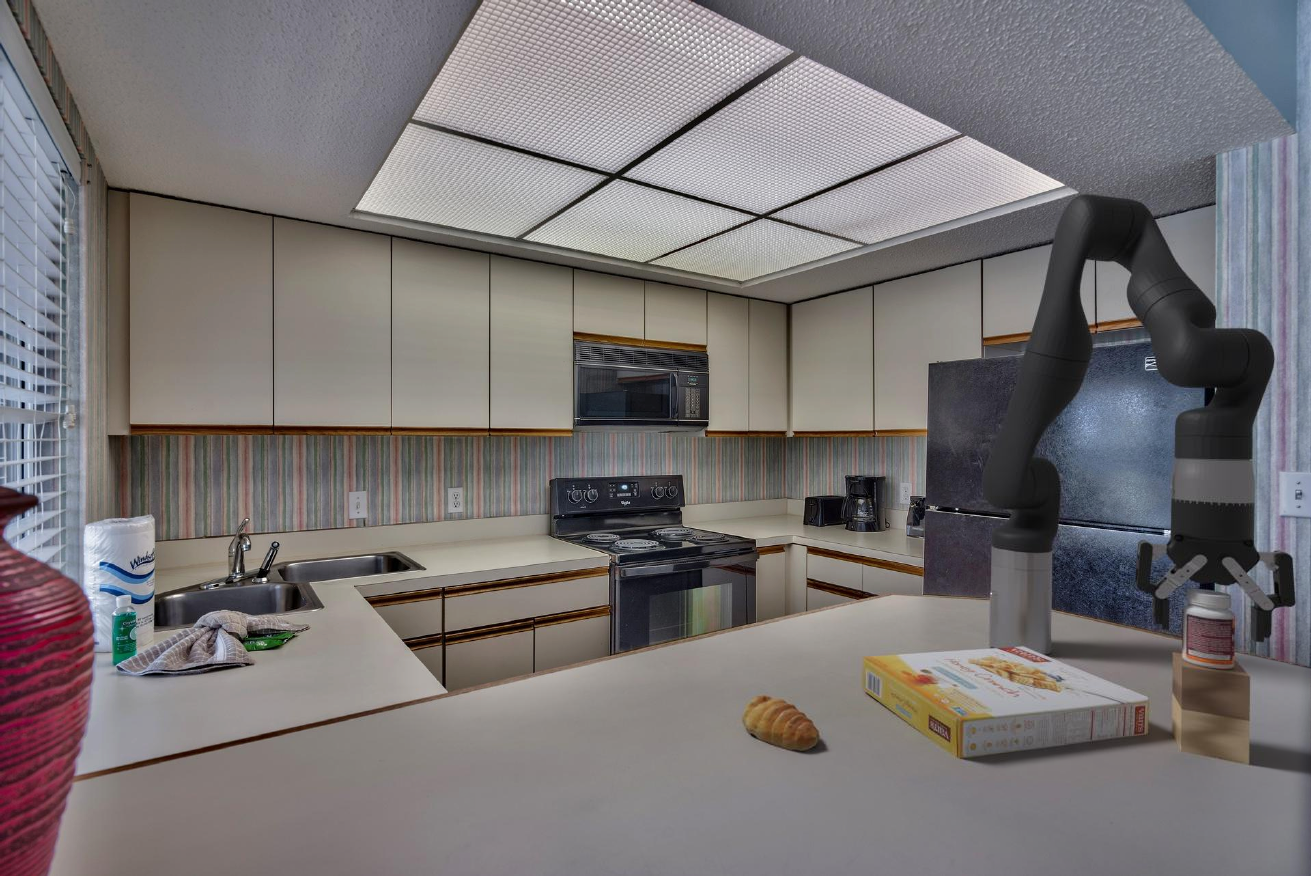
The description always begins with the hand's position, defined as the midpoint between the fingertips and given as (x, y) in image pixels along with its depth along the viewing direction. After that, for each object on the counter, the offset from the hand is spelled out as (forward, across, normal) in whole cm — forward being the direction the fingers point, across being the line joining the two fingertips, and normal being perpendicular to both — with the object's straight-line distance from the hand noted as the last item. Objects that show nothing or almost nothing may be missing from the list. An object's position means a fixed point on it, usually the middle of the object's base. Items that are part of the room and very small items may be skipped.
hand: (1209, 634), depth 77 cm
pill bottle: (+4, 0, 0) cm, 4 cm away
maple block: (+14, 0, 0) cm, 14 cm away
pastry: (+14, -44, -23) cm, 52 cm away
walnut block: (+8, 0, 0) cm, 8 cm away
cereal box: (+14, -22, -2) cm, 26 cm away
